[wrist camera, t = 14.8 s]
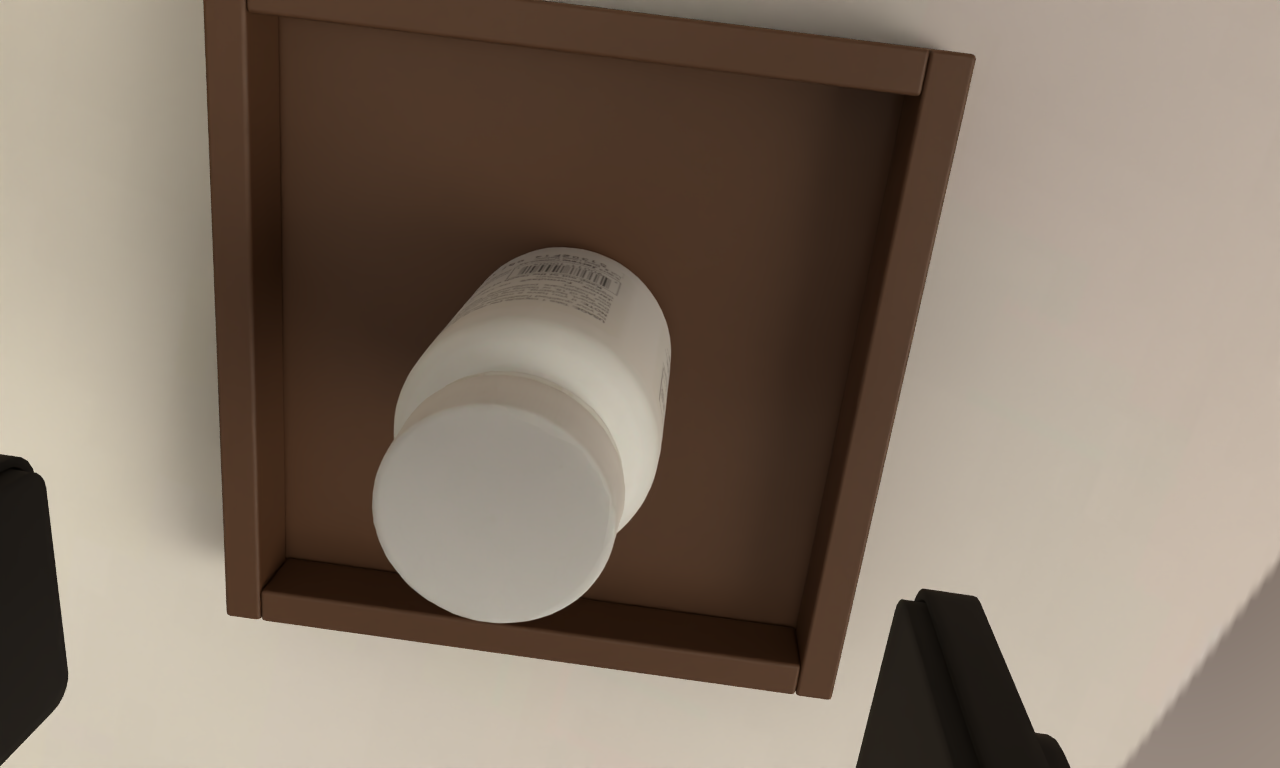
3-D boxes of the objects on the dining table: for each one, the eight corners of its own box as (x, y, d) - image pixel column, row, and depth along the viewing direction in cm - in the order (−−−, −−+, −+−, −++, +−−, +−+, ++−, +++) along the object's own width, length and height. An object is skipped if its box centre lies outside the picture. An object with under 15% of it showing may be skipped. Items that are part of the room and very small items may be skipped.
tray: (950, 51, 19) (978, 54, 17) (821, 647, 24) (831, 701, 22) (249, -36, 19) (199, -42, 17) (263, 569, 24) (225, 616, 22)
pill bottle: (423, 318, 21) (269, 478, 14) (591, 201, 20) (522, 308, 12) (546, 476, 22) (465, 703, 15) (712, 374, 21) (712, 565, 14)
